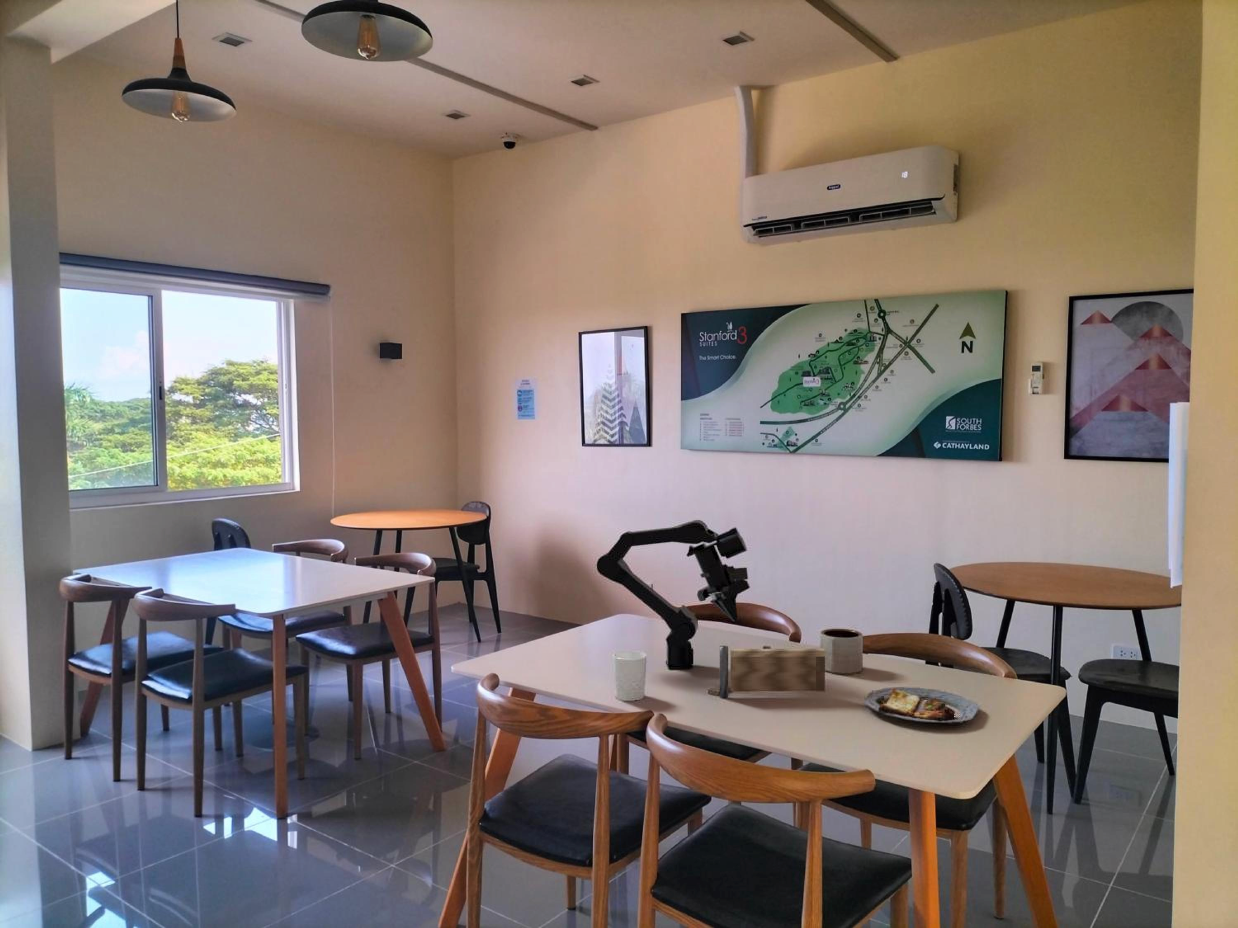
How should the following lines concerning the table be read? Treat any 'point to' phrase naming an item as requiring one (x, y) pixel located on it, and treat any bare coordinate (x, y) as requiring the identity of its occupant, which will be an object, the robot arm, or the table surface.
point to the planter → (842, 650)
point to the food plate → (908, 706)
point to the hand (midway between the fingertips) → (735, 620)
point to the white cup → (629, 675)
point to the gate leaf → (777, 670)
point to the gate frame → (724, 674)
